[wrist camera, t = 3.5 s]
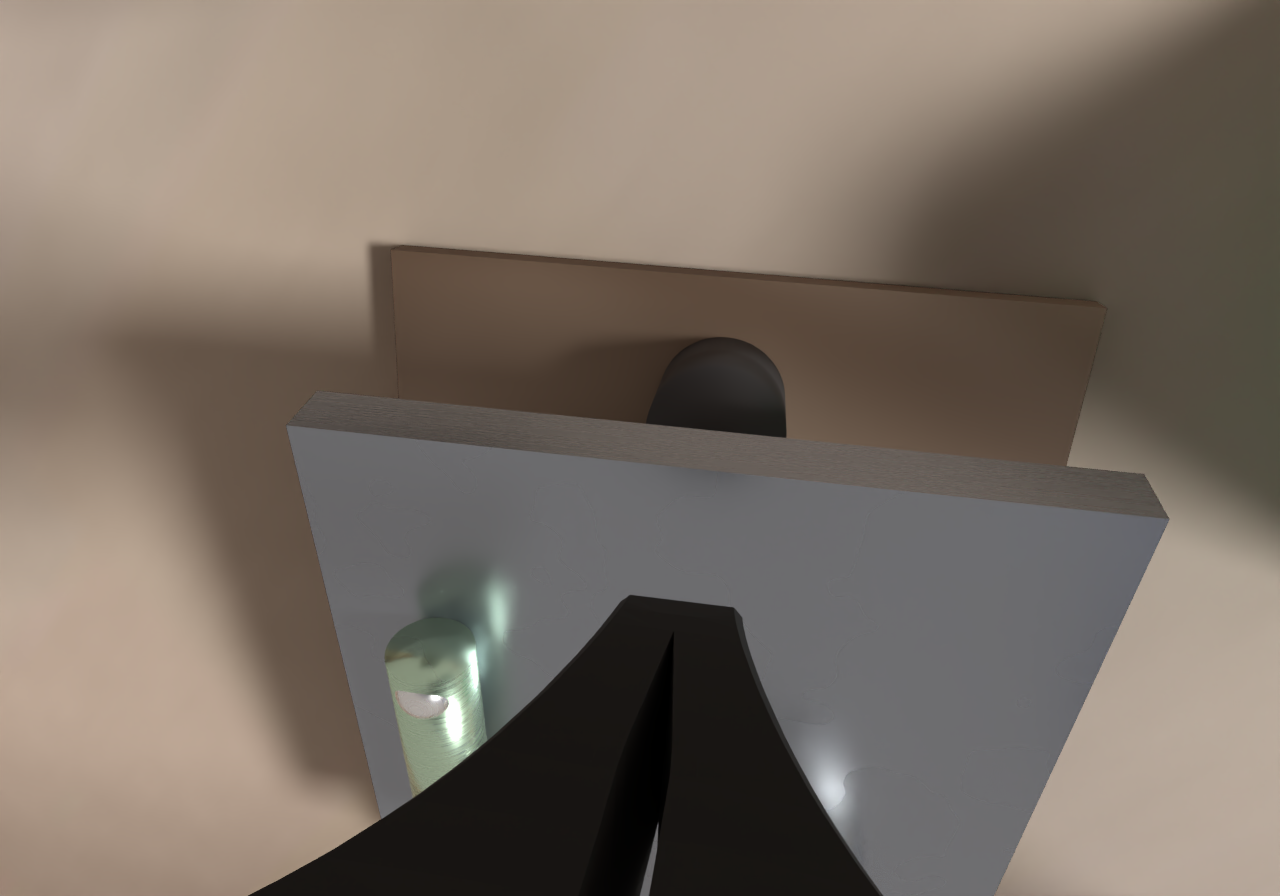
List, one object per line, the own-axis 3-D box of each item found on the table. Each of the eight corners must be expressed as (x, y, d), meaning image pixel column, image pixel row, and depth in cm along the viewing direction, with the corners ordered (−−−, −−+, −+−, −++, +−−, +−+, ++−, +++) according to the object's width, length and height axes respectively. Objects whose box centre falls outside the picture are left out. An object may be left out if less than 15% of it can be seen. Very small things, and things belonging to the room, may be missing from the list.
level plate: (930, 972, 20) (956, 1192, 17) (423, 888, 21) (354, 1077, 18) (1144, 474, 12) (1273, 705, 9) (317, 390, 13) (160, 563, 10)
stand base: (941, 910, 23) (960, 1008, 21) (430, 830, 25) (391, 913, 22) (1096, 301, 17) (1151, 337, 14) (401, 244, 18) (344, 268, 16)
